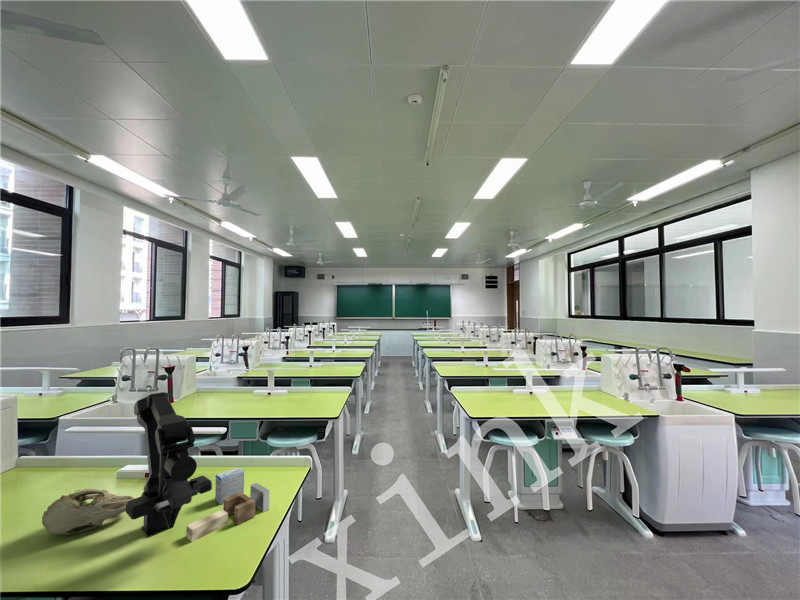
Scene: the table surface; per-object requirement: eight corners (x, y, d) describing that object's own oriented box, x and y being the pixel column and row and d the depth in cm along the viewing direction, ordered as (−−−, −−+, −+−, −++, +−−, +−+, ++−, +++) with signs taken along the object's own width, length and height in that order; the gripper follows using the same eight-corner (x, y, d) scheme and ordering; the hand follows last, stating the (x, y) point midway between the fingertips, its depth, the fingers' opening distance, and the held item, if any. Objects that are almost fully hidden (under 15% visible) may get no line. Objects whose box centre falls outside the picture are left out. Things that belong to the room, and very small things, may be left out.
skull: (119, 514, 113) (139, 520, 105) (32, 539, 96) (48, 549, 89) (123, 477, 116) (143, 480, 108) (39, 495, 99) (55, 501, 91)
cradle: (237, 524, 102) (237, 508, 102) (223, 513, 107) (223, 499, 108) (255, 515, 106) (255, 501, 106) (240, 506, 112) (240, 491, 112)
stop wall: (263, 512, 109) (263, 492, 109) (250, 503, 114) (250, 485, 114) (269, 509, 110) (269, 490, 111) (255, 501, 115) (256, 482, 116)
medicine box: (238, 491, 122) (238, 466, 122) (244, 495, 119) (244, 470, 119) (214, 500, 116) (215, 474, 116) (220, 505, 113) (221, 478, 113)
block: (191, 543, 94) (192, 529, 95) (186, 538, 96) (186, 525, 97) (227, 525, 102) (228, 513, 103) (221, 521, 105) (222, 509, 105)
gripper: (139, 492, 81) (137, 560, 80) (221, 464, 95) (220, 522, 95) (126, 478, 88) (124, 541, 87) (204, 454, 102) (202, 508, 102)
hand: (170, 527), depth 92 cm, fingers closed
